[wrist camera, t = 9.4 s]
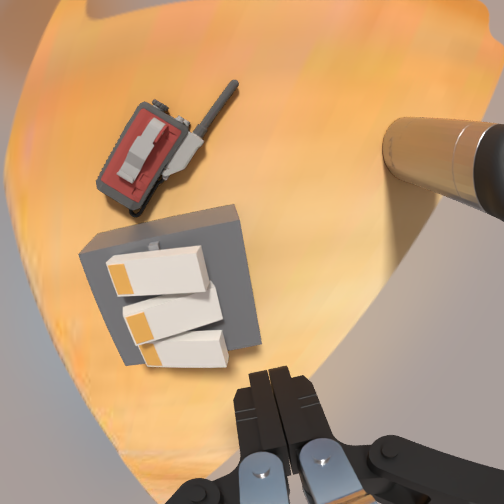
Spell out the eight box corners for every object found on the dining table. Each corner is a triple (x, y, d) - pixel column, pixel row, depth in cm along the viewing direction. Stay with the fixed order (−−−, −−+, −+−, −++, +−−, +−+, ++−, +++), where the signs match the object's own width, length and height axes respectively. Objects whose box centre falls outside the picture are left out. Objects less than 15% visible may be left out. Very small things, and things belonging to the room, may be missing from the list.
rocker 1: (210, 280, 34) (215, 287, 32) (218, 311, 35) (223, 319, 34) (122, 307, 31) (122, 315, 29) (134, 336, 33) (135, 346, 31)
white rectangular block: (200, 245, 30) (195, 253, 28) (209, 282, 31) (205, 292, 30) (113, 255, 31) (105, 263, 30) (124, 288, 33) (117, 297, 31)
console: (234, 204, 38) (240, 222, 31) (254, 316, 45) (263, 351, 37) (94, 234, 37) (72, 258, 30) (132, 337, 43) (122, 373, 36)
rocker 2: (221, 329, 34) (218, 340, 32) (229, 356, 35) (226, 367, 34) (141, 332, 35) (135, 341, 33) (152, 357, 37) (146, 367, 35)
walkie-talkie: (152, 223, 38) (243, 87, 34) (146, 235, 34) (247, 81, 29) (95, 189, 35) (182, 49, 31) (82, 196, 31) (179, 40, 27)
